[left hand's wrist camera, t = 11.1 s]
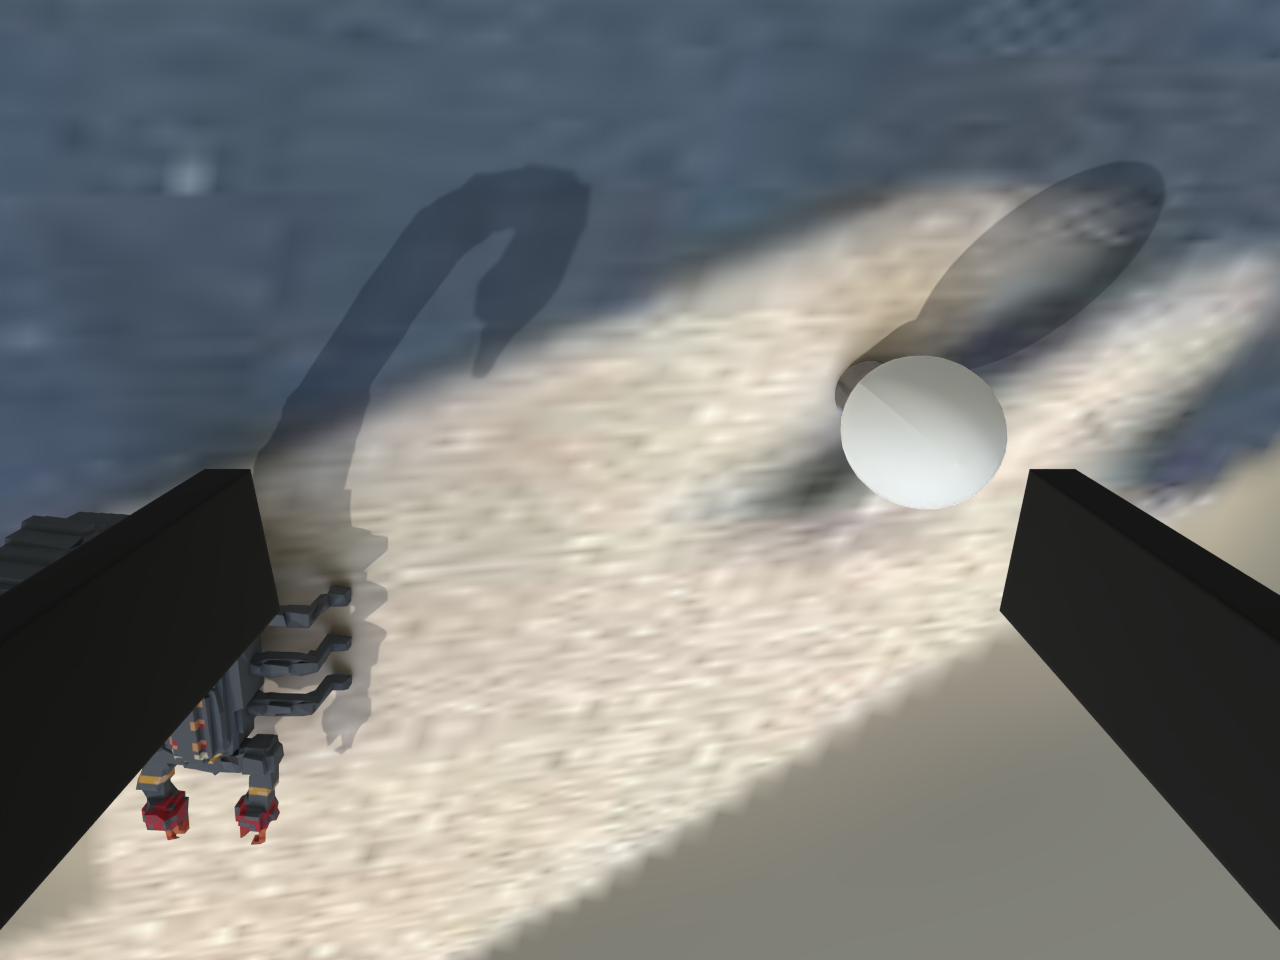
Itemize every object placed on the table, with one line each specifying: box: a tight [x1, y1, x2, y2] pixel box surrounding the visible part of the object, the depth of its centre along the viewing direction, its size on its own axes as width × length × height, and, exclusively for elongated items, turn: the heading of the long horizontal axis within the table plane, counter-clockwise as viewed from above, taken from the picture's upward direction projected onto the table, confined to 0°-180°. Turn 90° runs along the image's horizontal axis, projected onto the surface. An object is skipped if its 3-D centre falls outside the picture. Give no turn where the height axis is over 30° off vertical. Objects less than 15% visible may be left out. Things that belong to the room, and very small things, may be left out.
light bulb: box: [835, 355, 1007, 509], centre depth 34 cm, size 7×7×11 cm
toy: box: [0, 512, 352, 845], centre depth 36 cm, size 13×27×18 cm, turn 172°
